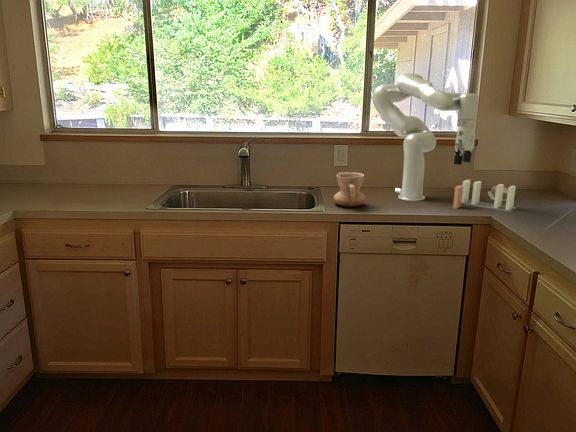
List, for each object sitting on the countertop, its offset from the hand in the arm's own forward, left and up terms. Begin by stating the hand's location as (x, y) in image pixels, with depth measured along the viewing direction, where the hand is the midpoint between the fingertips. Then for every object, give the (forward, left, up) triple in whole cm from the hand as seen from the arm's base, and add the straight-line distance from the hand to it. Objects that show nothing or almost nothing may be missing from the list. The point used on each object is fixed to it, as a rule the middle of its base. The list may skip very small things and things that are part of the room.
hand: (462, 163), depth 202 cm
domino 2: (-2, +13, -20) cm, 24 cm away
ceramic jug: (-38, -29, -21) cm, 52 cm away
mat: (+7, +13, -20) cm, 25 cm away
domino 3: (+3, +13, -20) cm, 24 cm away
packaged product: (+6, +36, -21) cm, 42 cm away
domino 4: (+13, +13, -20) cm, 27 cm away
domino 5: (+18, +13, -20) cm, 30 cm away
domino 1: (0, 0, -20) cm, 20 cm away
